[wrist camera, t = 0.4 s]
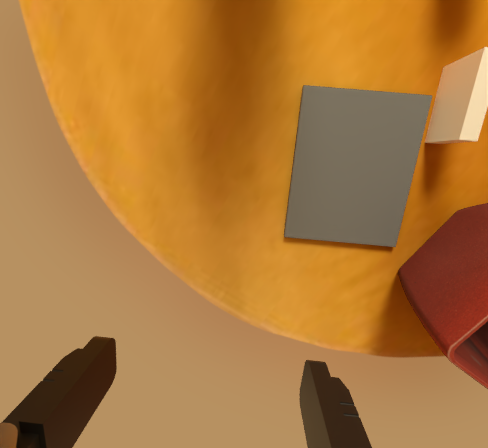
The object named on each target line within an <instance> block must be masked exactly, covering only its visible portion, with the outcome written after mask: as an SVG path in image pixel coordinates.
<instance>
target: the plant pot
mask: <svg viewBox="0 0 488 448" xmlns="http://www.w3.org/2000/svg"><path fill="white" fill-rule="evenodd" d="M398 273H399V277H400V281H401V284H402V287H403V289H404V292H405V294H406V296H407V298H408V300H409V302H410V304H411V306H412V308H413V310H414V311H415V313H416V315H417V316H418V318H419V319H420V321H421V322H422V324H423V326H424V327H425V328H426V330H427V331H428V333H429V334H430V336H431V337H432V338H433V340H434V341H435V343H436V344H437V345H438V347H439V348H440V349H441V351H442V352H443V353H444V354H445V356H446V357H447V358H448V359H449V360H450V361H451V362H452V363H453V364H454V365H456V366H457V367H458V368H460V369H461V370H462V371H464V372H465V373H467V374H468V375H469V376H471V377H472V378H473V379H475V380H476V381H477V382H479V383H480V384H481V385H483V386H484V387H485V388H487V389H488V203H486V204H481V205H476V206H472V207H468V208H464V209H461V210H458V211H457V212H456V213H455V214H454V215H453V216H452V217H451V218H450V219H449V220H448V221H447V222H446V223H445V224H444V225H443V226H442V227H441V228H440V229H439V230H438V231H437V232H436V233H435V234H434V235H433V236H432V237H431V238H430V239H429V240H428V241H427V242H426V243H425V244H424V245H423V246H422V247H421V248H420V249H419V250H418V251H417V252H416V253H415V254H414V255H413V256H412V257H411V258H410V259H409V260H408V261H407V262H406V263H405V264H404V265H403V266H402V267H401V268H400V269H399V272H398Z"/></svg>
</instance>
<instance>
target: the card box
mask: <svg viewBox="0 0 488 448" xmlns="http://www.w3.org/2000/svg"><path fill="white" fill-rule="evenodd" d="M487 107H488V47H484V48H482V49H480V50H478V51H476V52H474V53H472V54H470V55H468V56H465V57H463V58H461V59H459V60H457V61H455V62H453V63H451V64H449V65H447V66H445V67H443V71H442V75H441V79H440V83H439V87H438V91H437V95H436V99H435V103H434V107H433V111H432V115H431V119H430V123H429V127H428V131H427V135H426V140H425V143H433V144H447V143H460V142H472V141H478V137H479V134H480V131H481V127H482V124H483V120H484V117H485V114H486V110H487Z"/></svg>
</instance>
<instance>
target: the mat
mask: <svg viewBox="0 0 488 448" xmlns="http://www.w3.org/2000/svg"><path fill="white" fill-rule="evenodd" d="M431 99H432V96H431V95H419V94H406V93H394V92H381V91H369V90H357V89H344V88H332V87H319V86H307V85H304V86H303V89H302V97H301V105H300V112H299V120H298V128H297V136H296V144H295V152H294V160H293V167H292V175H291V183H290V191H289V199H288V207H287V215H286V223H285V230H284V237H291V238H302V239H313V240H324V241H335V242H346V243H357V244H368V245H379V246H390V247H396V243H397V239H398V235H399V231H400V227H401V222H402V218H403V214H404V210H405V206H406V202H407V198H408V194H409V190H410V185H411V181H412V177H413V173H414V169H415V165H416V161H417V157H418V153H419V148H420V144H421V140H422V136H423V132H424V128H425V124H426V120H427V116H428V111H429V107H430V103H431Z"/></svg>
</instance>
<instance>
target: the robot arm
mask: <svg viewBox="0 0 488 448" xmlns="http://www.w3.org/2000/svg"><path fill="white" fill-rule="evenodd" d="M115 374H116V343H115V339H113V338H106V337H97V336H96V337H93V338H92V339H91V340H90V341H89V342H88V344H87V345H86V346H85V347H84V348H83V349H76V350H74V351H73V352H71V353H70V354H68V355H67V356H65V357H64V358H63V359H62V360H61V361H60V362H59V363H58V364H57V365H56V366H55V367H54V368H53V370H52V371H50V372H49V373H48V374H47V375H46V377H45V378H44V379H43V381H41V382H40V383H39V384H38V385H37V386H36V387H35V388H34V389H33V390H32V391H31V392H30V393H29V395H27V396H26V398H25V399H24V400H23V401H22V402H21V403H20V404H19V405H18V406H17V407H16V408H15V409H14V410H13V411H12V412H11V413H10V415H8V417H7V418H6V419H5V420H4V421H3V422H2V423H0V448H72V447H73V446H74V444H75V442H76V441H77V439H78V437H79V436H80V434H81V433H82V431H83V430H84V428H85V426H86V425H87V423H88V421H89V420H90V418H91V417H92V415H93V414H94V412H95V410H96V409H97V407H98V406H99V404H100V402H101V401H102V399H103V398H104V396H105V394H106V393H107V391H108V390H109V388H110V386H111V385H112V383H113V380H114V378H115ZM300 408H301V413H302V419H303V424H304V430H305V434H306V440H307V446H308V448H372V447H371V444H370V442H369V439H368V437H367V434H366V432H365V429H364V427H363V425H362V422H361V419H360V418H359V415H358V412H357V410H356V407H355V406H354V402H353V400H352V397H351V395H350V392H349V390H348V389H347V388H346V386H345V385H344V384H343V383H342V381H341V380H340V379H339V378H335V377H331V376H330V373H329V371H328V368H327V365H326V363H325V362H320V361H311V360H306V362H305V366H304V371H303V376H302V382H301V387H300Z"/></svg>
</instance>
